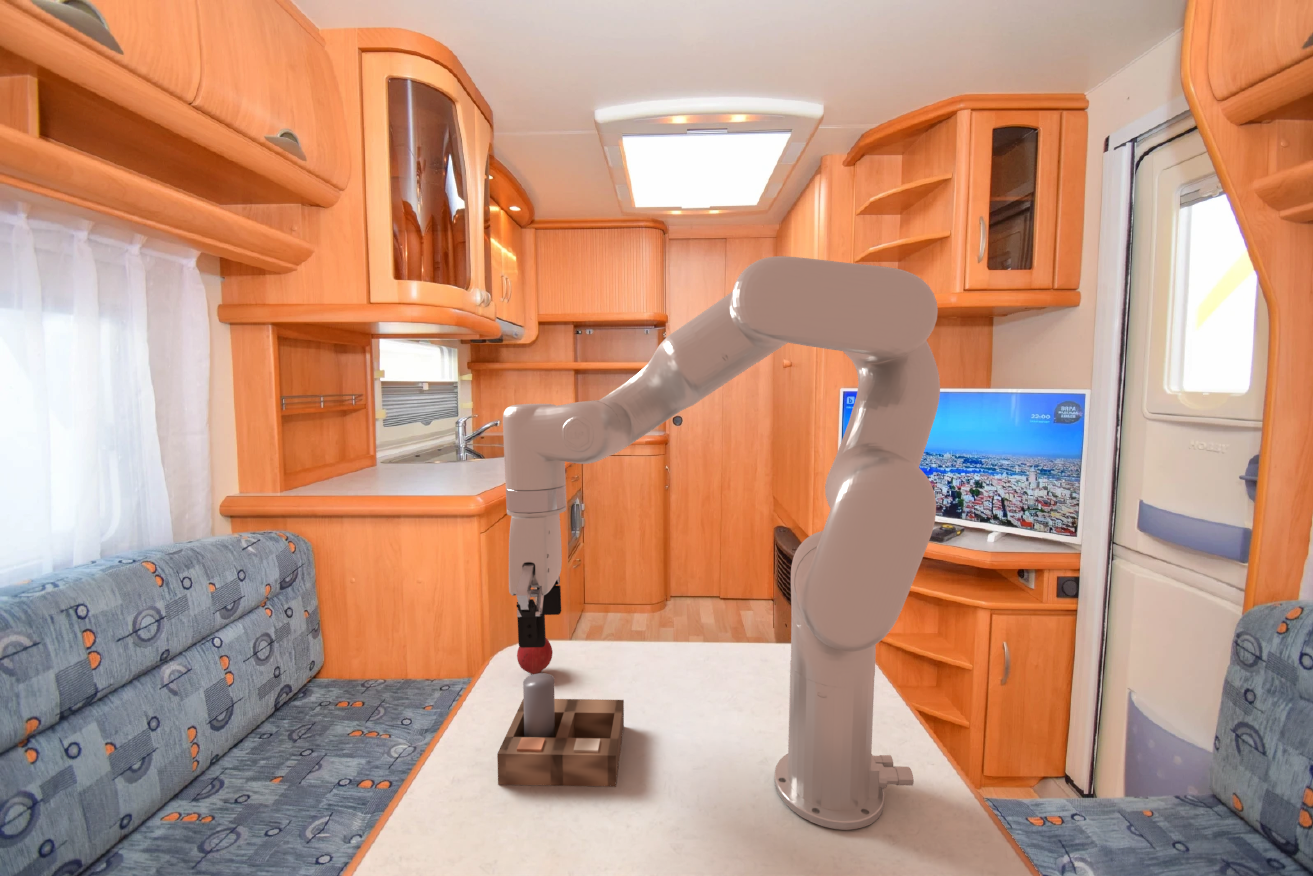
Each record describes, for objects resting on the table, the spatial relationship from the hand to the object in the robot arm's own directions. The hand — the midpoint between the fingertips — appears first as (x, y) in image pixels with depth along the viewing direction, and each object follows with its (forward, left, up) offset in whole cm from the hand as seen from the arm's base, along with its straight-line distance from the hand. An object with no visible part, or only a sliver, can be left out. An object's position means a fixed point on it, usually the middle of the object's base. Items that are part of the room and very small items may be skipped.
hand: (541, 629), depth 71 cm
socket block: (-3, 0, -17) cm, 17 cm away
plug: (+1, 0, -17) cm, 17 cm away
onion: (+6, -20, -17) cm, 27 cm away
